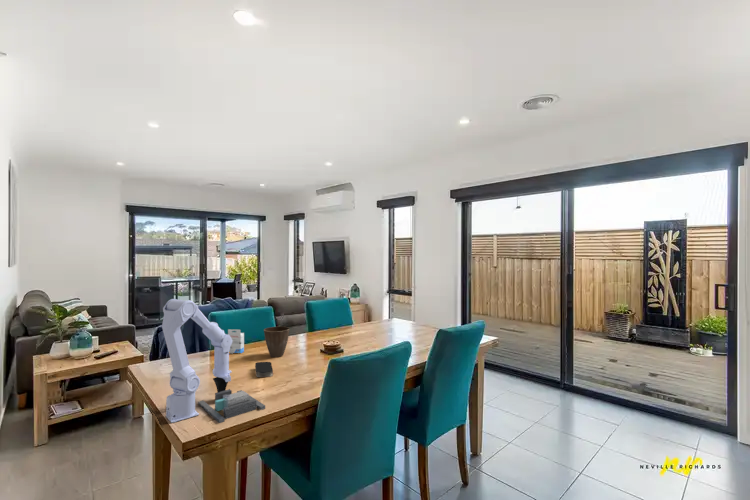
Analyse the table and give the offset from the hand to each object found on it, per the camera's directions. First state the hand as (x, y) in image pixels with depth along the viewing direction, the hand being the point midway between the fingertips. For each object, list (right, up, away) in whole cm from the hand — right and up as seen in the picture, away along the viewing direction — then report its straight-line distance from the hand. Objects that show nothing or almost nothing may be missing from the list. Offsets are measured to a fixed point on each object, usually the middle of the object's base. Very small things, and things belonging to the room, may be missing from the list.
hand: (221, 394), depth 152 cm
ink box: (-21, -3, +71) cm, 74 cm away
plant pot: (+6, -3, +64) cm, 65 cm away
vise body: (+7, -2, -7) cm, 10 cm away
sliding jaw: (+4, -2, -4) cm, 6 cm away
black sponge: (+8, -3, +34) cm, 35 cm away
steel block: (+10, -2, -11) cm, 15 cm away
